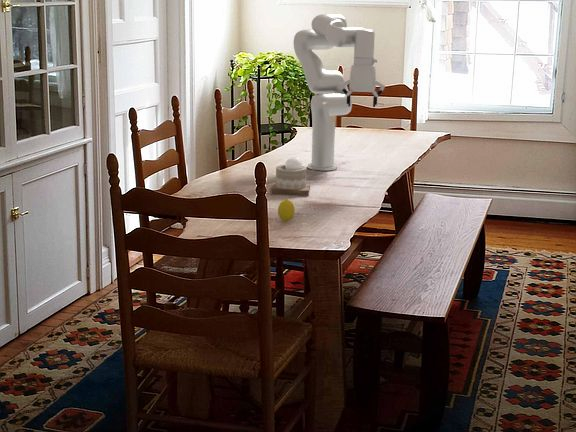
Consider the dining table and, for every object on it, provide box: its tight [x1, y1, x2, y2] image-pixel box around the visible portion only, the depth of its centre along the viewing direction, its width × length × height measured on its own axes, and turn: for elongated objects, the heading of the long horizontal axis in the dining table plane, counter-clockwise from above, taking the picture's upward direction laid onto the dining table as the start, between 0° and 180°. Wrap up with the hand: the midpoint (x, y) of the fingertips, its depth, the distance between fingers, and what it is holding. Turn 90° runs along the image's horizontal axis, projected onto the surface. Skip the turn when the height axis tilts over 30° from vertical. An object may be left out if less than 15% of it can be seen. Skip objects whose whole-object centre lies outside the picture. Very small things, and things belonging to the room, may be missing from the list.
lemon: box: [277, 198, 296, 223], centre depth 307 cm, size 6×6×8 cm
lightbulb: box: [284, 157, 303, 170], centre depth 350 cm, size 6×6×11 cm
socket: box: [270, 164, 311, 197], centre depth 350 cm, size 14×14×9 cm
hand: (361, 106), depth 360 cm, fingers open, 9 cm apart
